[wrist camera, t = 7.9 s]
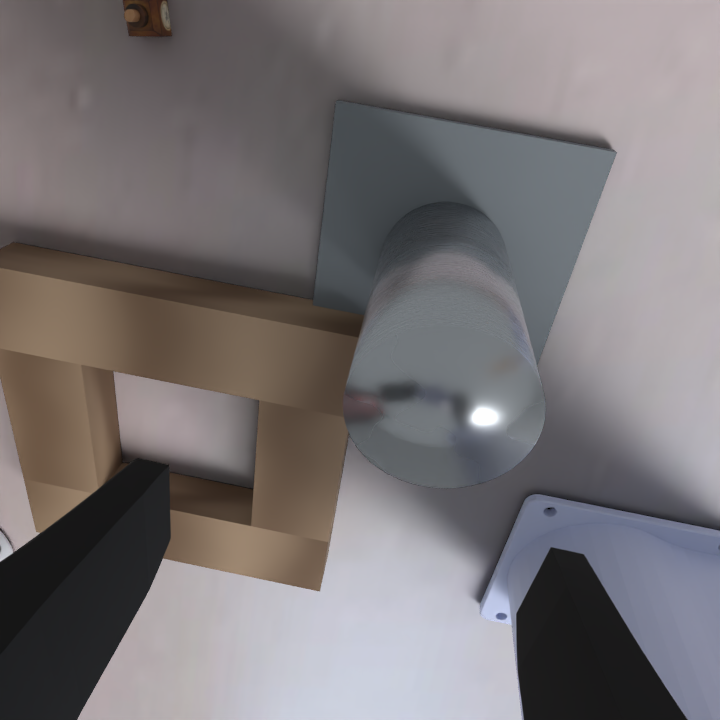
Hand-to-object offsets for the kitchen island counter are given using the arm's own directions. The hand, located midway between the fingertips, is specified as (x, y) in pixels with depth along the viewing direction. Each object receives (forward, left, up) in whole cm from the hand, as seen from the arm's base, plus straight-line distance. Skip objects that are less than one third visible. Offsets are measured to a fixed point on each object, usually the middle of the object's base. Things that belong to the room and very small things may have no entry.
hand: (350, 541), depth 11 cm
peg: (-1, -2, -10) cm, 10 cm away
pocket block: (+7, +7, -10) cm, 14 cm away
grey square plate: (-1, -2, -10) cm, 11 cm away
